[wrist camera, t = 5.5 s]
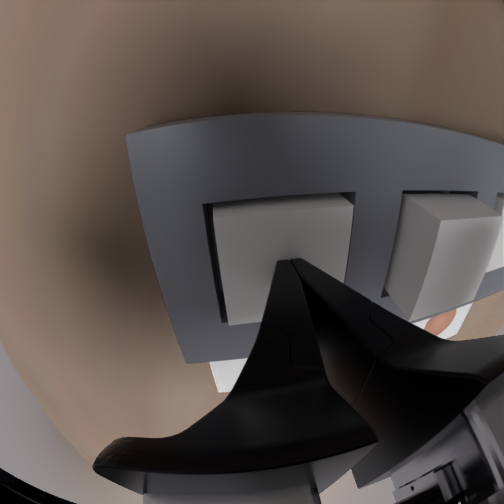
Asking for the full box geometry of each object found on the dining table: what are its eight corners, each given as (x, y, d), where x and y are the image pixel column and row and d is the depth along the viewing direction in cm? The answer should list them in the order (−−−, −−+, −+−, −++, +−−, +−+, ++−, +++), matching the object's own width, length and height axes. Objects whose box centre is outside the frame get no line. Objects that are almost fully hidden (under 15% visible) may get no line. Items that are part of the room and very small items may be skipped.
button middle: (468, 194, 10) (503, 215, 7) (447, 272, 12) (473, 299, 10) (401, 193, 9) (440, 220, 7) (383, 286, 11) (408, 321, 9)
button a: (327, 183, 10) (353, 205, 8) (320, 275, 13) (339, 309, 11) (213, 192, 10) (212, 217, 8) (225, 287, 12) (228, 325, 10)
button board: (516, 147, 11) (545, 161, 8) (487, 265, 16) (509, 286, 14) (149, 126, 9) (125, 134, 7) (189, 319, 14) (186, 363, 12)
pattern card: (478, 281, 17) (481, 284, 16) (454, 331, 20) (456, 334, 20) (203, 337, 15) (203, 342, 15) (218, 389, 18) (218, 393, 18)
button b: (508, 187, 11) (532, 202, 9) (492, 245, 14) (514, 263, 12) (475, 184, 11) (504, 201, 9) (458, 252, 13) (482, 273, 11)
